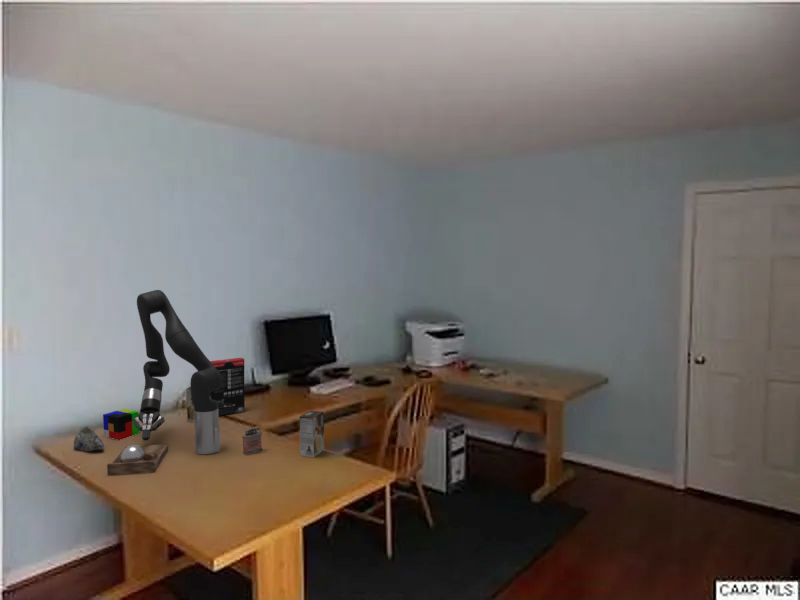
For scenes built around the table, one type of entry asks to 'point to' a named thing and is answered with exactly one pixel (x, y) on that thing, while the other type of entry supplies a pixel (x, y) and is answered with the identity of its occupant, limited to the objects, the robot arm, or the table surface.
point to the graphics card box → (230, 386)
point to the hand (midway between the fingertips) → (145, 439)
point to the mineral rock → (87, 440)
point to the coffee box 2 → (311, 433)
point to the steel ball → (132, 454)
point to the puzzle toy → (120, 424)
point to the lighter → (252, 441)
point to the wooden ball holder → (151, 455)
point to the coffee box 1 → (190, 406)
